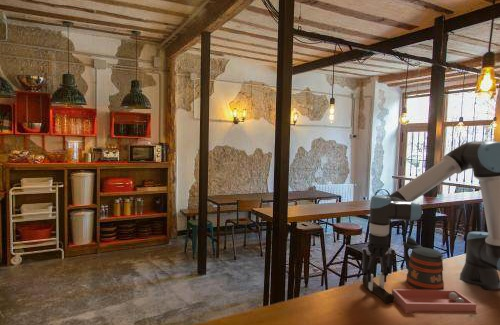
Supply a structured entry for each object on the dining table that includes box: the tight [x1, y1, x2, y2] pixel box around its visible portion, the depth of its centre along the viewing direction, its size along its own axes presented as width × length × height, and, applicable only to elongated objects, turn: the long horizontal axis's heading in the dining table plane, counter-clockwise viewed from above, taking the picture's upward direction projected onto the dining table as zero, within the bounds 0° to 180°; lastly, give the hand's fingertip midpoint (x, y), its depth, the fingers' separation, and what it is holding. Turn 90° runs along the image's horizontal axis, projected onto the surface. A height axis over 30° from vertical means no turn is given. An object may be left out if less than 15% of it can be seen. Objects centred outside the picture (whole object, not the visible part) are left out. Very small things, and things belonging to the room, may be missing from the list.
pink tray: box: [391, 288, 477, 314], centre depth 129 cm, size 26×12×4 cm, turn 91°
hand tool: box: [361, 274, 394, 305], centre depth 138 cm, size 19×4×5 cm, turn 11°
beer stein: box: [402, 236, 445, 290], centre depth 145 cm, size 19×15×20 cm
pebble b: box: [455, 298, 465, 303], centre depth 127 cm, size 3×3×3 cm
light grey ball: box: [449, 292, 458, 301], centre depth 131 cm, size 3×3×3 cm
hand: (375, 289), depth 138 cm, fingers closed on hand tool, 4 cm apart
